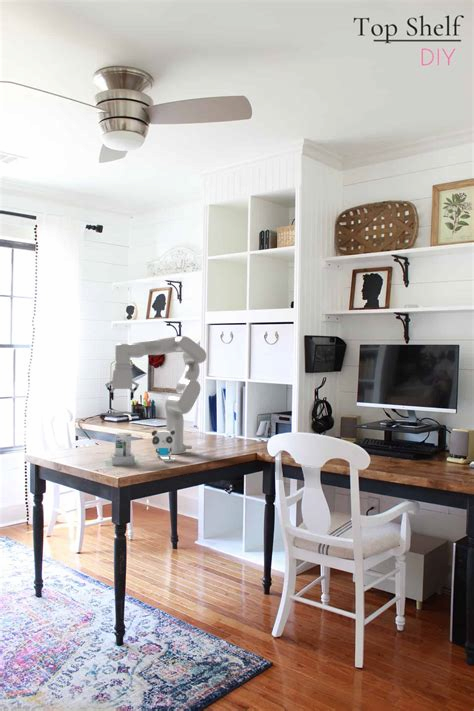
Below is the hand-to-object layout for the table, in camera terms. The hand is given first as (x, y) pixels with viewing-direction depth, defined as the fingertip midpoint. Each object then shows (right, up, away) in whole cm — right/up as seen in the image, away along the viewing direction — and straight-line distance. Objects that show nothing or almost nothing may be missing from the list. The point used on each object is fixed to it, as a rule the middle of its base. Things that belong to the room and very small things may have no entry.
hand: (122, 400), depth 314 cm
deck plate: (+5, -31, -22) cm, 38 cm away
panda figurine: (+22, -31, -2) cm, 38 cm away
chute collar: (+5, -29, -22) cm, 37 cm away
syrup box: (+5, -29, -22) cm, 37 cm away
